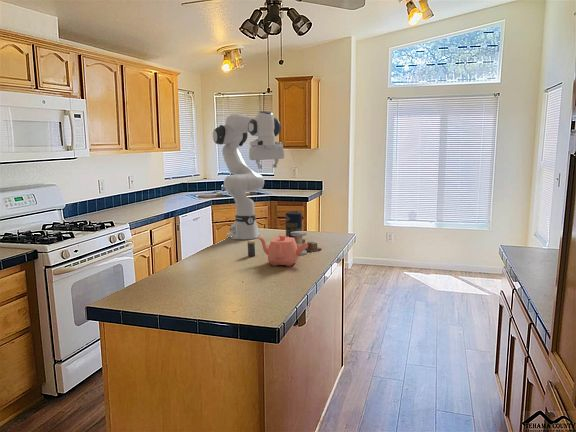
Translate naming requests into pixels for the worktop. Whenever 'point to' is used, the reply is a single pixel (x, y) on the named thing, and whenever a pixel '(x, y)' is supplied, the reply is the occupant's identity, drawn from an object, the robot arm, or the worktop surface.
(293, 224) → the canister
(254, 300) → the worktop surface
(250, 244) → the cylinder
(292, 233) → the bobbin
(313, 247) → the board
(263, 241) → the teapot
